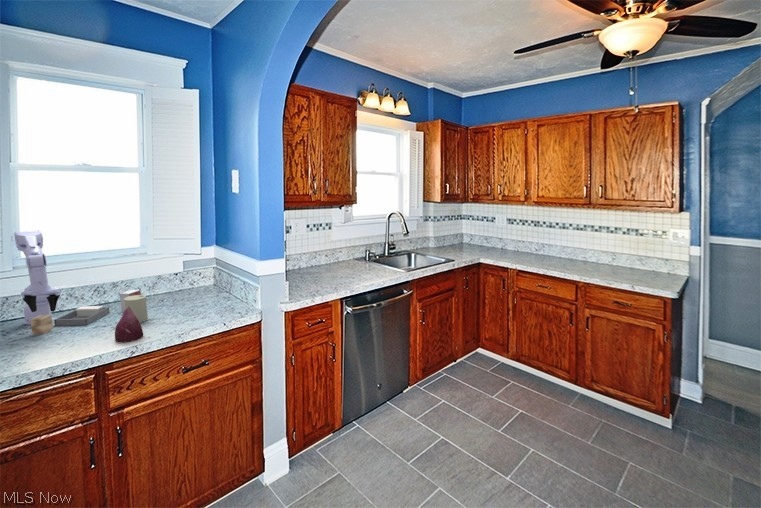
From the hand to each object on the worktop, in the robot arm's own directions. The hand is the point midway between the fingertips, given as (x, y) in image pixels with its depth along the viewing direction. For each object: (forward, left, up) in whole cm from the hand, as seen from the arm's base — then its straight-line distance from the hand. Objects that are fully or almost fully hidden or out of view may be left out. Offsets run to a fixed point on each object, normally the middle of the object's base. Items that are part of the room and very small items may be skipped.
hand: (43, 311), depth 177 cm
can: (+33, +12, -10) cm, 36 cm away
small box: (+23, +27, -10) cm, 37 cm away
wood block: (-1, -1, -10) cm, 10 cm away
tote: (+7, +14, -9) cm, 18 cm away
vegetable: (+41, -11, -10) cm, 43 cm away
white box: (+7, +20, -9) cm, 23 cm away
